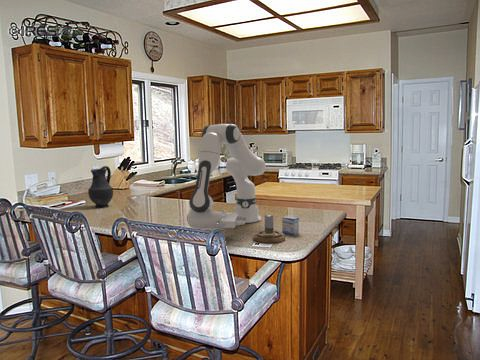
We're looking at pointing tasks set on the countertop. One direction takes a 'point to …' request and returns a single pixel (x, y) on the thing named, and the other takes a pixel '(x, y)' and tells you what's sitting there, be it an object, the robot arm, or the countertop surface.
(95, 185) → the pitcher
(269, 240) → the ring
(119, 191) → the countertop surface
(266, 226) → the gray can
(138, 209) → the countertop surface
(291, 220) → the medicine box
